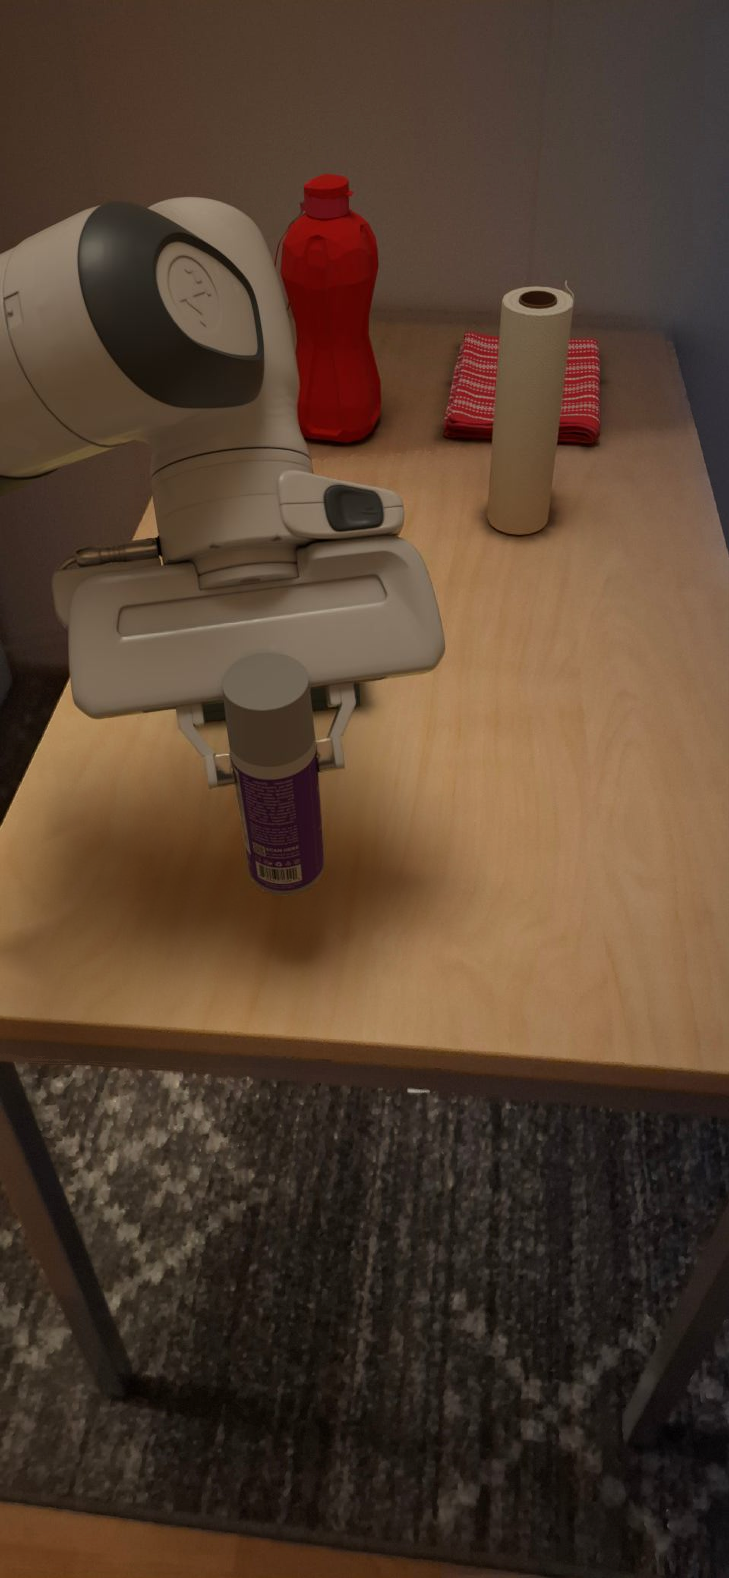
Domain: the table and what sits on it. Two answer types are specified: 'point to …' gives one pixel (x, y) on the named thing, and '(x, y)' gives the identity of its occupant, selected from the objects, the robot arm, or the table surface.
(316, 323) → the water bottle
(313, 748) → the container
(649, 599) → the table surface
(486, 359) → the dish towel
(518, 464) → the paper towel roll
